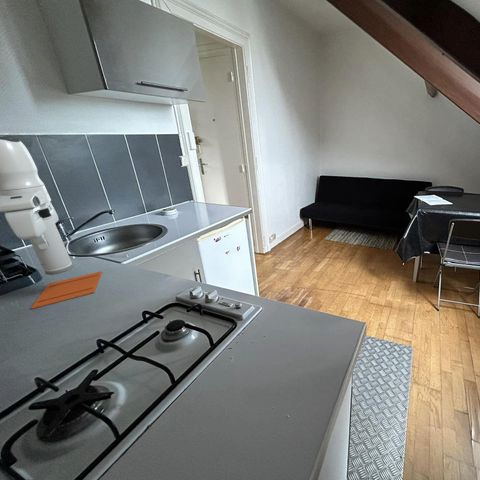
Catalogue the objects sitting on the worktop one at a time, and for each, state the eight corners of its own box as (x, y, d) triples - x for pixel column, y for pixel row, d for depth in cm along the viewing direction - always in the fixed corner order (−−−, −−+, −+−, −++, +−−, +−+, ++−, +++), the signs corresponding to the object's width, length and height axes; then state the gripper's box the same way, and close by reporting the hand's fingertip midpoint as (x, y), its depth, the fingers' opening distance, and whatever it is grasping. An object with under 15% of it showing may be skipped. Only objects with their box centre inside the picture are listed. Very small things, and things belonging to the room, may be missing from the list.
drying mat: (31, 309, 73) (30, 307, 73) (49, 284, 86) (48, 283, 85) (94, 292, 79) (93, 291, 79) (102, 272, 92) (101, 270, 92)
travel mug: (39, 277, 76) (7, 210, 69) (54, 267, 82) (26, 205, 75) (65, 273, 77) (36, 208, 70) (77, 264, 83) (52, 203, 76)
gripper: (26, 194, 78) (46, 236, 84) (-8, 207, 62) (20, 259, 67) (53, 190, 81) (72, 232, 87) (28, 202, 65) (53, 252, 70)
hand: (49, 244), depth 77 cm, fingers closed on travel mug, 6 cm apart
